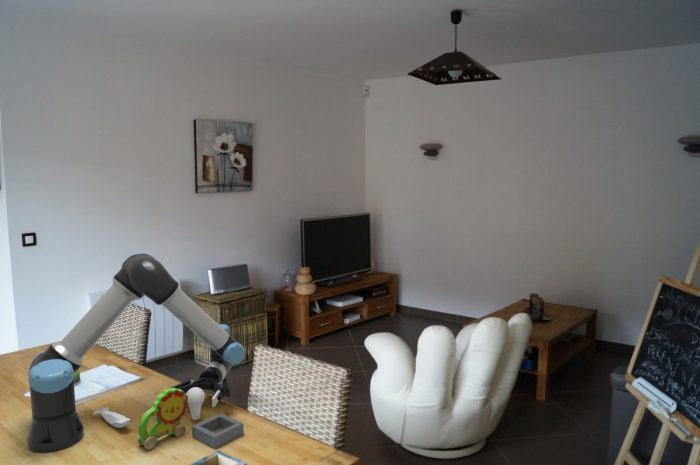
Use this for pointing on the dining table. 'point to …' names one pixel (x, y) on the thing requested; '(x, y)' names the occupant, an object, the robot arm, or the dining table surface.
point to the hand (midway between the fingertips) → (192, 402)
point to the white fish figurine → (113, 418)
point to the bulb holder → (217, 430)
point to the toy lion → (164, 417)
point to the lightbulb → (195, 401)
